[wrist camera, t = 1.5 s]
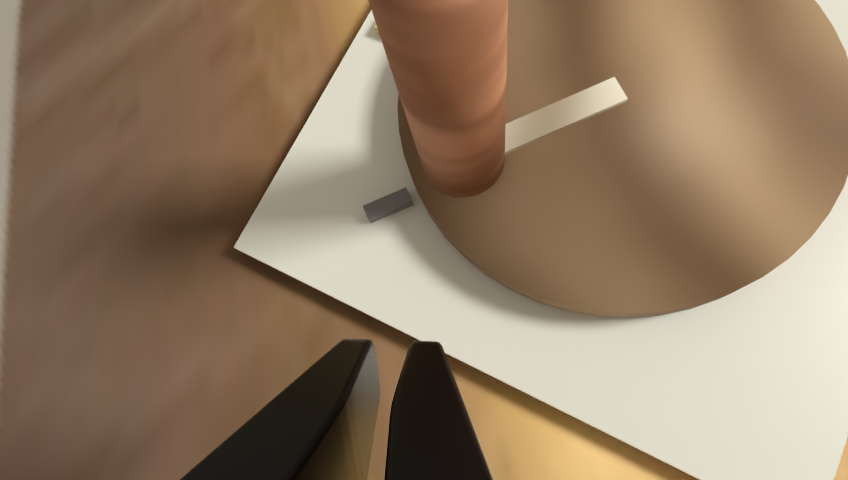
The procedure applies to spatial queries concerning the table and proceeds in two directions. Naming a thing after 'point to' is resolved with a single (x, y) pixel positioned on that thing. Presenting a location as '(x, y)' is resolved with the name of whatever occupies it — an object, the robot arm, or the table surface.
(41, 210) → the table surface
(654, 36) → the dial
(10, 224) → the table surface
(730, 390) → the dial plate
